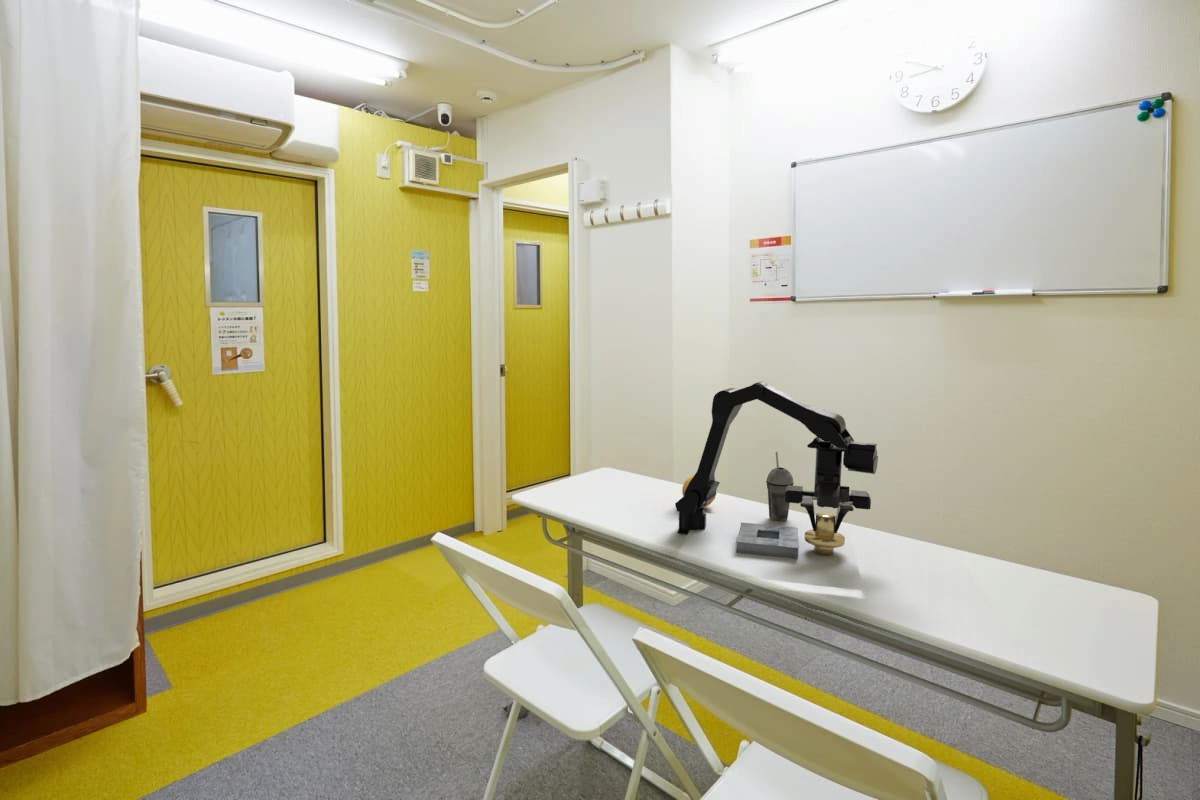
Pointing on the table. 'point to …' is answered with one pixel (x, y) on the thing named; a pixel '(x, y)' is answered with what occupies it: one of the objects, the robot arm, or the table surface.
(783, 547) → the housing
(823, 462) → the robot arm
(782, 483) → the beverage cup
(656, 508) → the table surface
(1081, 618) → the table surface
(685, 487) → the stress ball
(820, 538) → the end cover
